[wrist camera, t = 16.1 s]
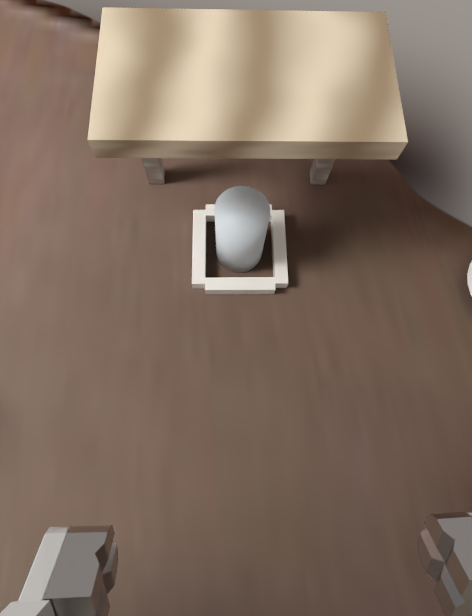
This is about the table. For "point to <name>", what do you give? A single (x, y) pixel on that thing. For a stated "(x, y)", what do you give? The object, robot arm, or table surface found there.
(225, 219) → the canister
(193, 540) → the table surface
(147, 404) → the table surface
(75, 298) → the table surface
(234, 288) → the white square frame
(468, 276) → the cup
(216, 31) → the overhang shelf
